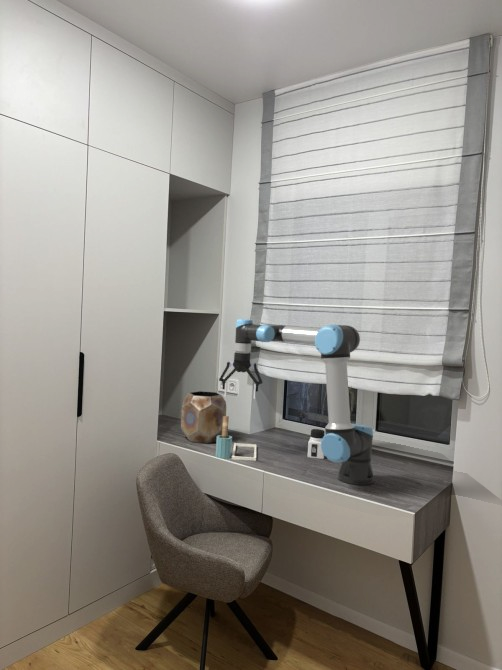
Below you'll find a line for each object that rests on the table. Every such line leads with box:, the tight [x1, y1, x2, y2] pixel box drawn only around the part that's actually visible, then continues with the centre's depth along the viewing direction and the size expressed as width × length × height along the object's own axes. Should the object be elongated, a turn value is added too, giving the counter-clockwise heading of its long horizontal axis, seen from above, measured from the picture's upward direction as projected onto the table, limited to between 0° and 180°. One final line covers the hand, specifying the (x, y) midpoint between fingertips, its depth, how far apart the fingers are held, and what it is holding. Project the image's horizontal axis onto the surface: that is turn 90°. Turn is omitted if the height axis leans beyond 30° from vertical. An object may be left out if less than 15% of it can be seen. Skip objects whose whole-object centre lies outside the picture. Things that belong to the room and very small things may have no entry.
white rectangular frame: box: [231, 442, 257, 462], centre depth 244 cm, size 24×11×2 cm, turn 179°
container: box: [307, 428, 326, 460], centre depth 249 cm, size 8×8×13 cm
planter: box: [180, 390, 227, 444], centre depth 269 cm, size 22×24×24 cm
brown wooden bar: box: [222, 415, 229, 438], centre depth 237 cm, size 6×3×18 cm, turn 179°
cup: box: [215, 435, 233, 459], centre depth 236 cm, size 7×7×10 cm
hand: (239, 397), depth 242 cm, fingers open, 13 cm apart
